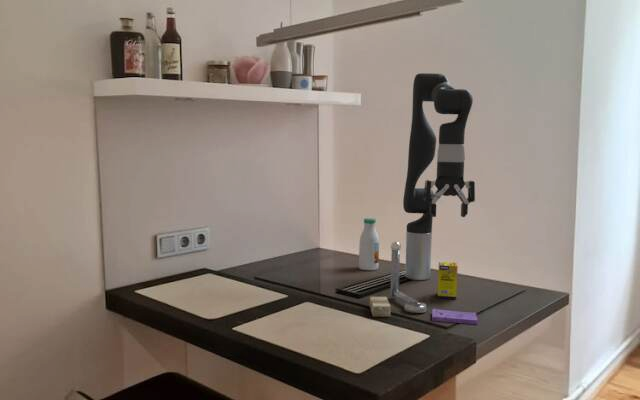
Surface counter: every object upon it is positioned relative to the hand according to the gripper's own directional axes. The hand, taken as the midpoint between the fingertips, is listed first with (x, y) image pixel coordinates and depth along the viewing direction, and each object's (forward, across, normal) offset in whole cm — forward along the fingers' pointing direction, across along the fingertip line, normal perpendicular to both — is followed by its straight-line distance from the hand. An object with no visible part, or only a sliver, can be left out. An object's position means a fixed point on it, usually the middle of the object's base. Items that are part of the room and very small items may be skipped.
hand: (448, 216), depth 160 cm
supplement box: (+29, -6, -19) cm, 35 cm away
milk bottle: (+29, +14, -58) cm, 67 cm away
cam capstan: (+29, +10, -9) cm, 32 cm away
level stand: (+29, +19, -3) cm, 35 cm away
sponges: (+30, -2, +4) cm, 30 cm away
